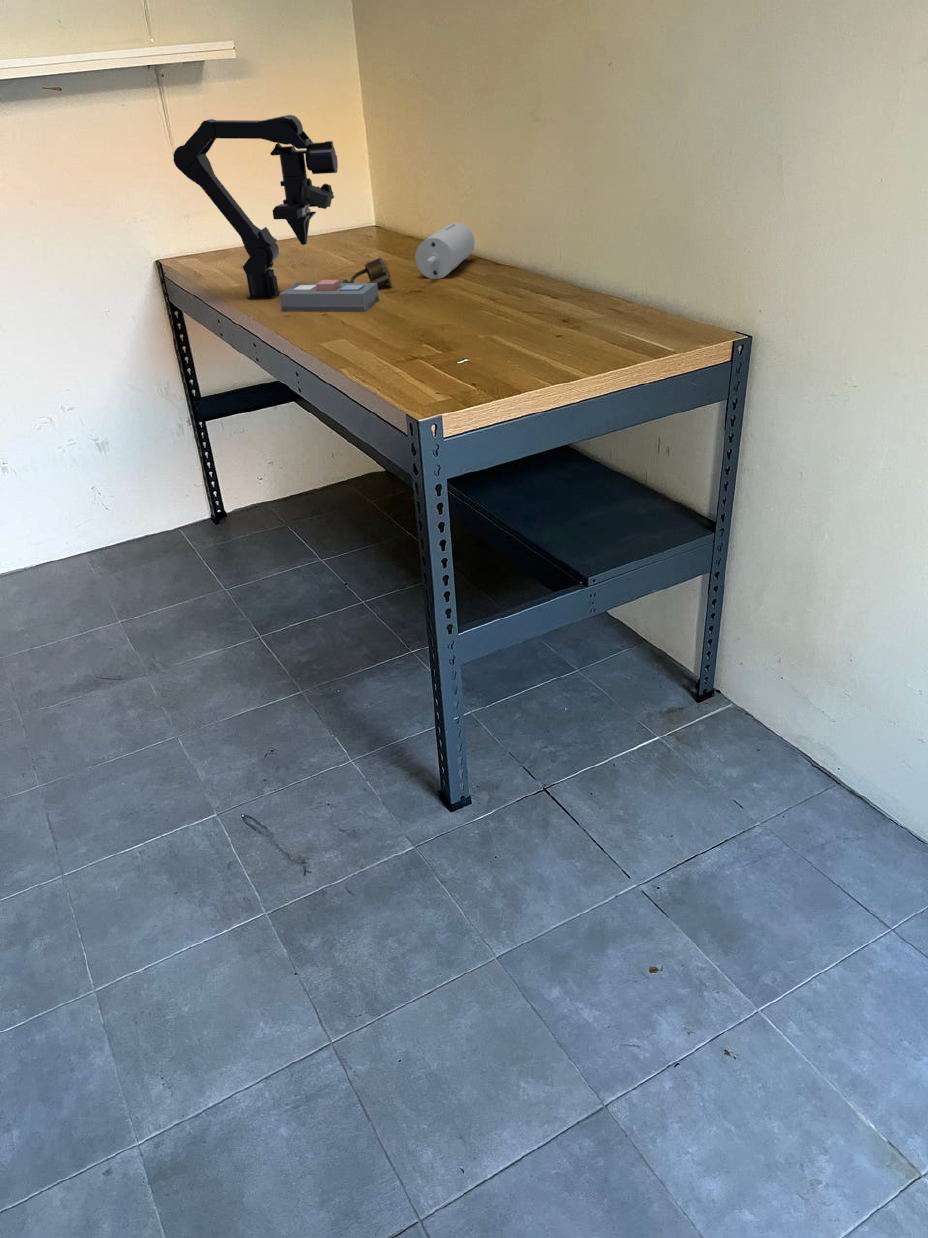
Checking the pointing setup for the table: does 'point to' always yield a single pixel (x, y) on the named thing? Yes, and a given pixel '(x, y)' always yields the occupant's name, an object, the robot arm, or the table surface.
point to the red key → (328, 285)
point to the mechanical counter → (374, 273)
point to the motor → (444, 250)
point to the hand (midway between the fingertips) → (304, 244)
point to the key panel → (329, 298)
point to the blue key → (352, 288)
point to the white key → (305, 288)
